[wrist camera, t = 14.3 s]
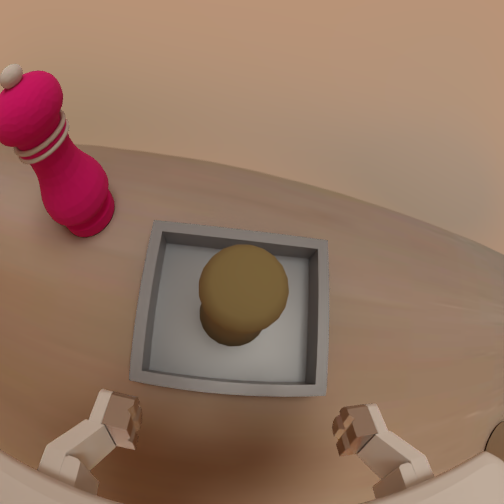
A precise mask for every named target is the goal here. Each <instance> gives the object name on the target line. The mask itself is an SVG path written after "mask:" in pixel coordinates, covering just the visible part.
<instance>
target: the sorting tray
mask: <svg viewBox="0 0 504 504" xmlns="http://www.w3.org/2000/svg"><path fill="white" fill-rule="evenodd" d="M237 244H248V245H253V246H257V247H260V248H263V249H265V250H266V251H268V252H269V253H271V254H272V255H274V256H275V257H276V259H277V260H278V261H279V262H280V263H281V265H282V266H283V268H284V270H285V273H286V275H287V278H288V286H289V295H288V299H287V303H286V307H285V309H284V310H283V312H282V314H281V315H280V317H279V318H278V319H277V320H276V321H275V322H274V323H273V324H271V325H270V326H269V327H268V328H266V329H263V330H262V331H261V332H260V334H259V335H258V336H257V337H256V338H255V339H254V340H252V341H251V342H250V343H247V344H244V345H241V346H226V345H223V344H219V343H217V342H216V341H215V340H213V339H212V338H210V337H209V336H208V334H207V333H206V332H205V330H204V329H203V327H202V324H201V321H200V306H201V301H200V298H199V279H200V276H201V273H202V271H203V268H204V267H205V265H206V264H207V263H208V261H209V260H210V259H211V258H212V256H214V255H215V254H216V253H218V252H219V251H221V250H222V249H224V248H227V247H230V246H233V245H237ZM328 345H329V261H328V240H322V239H315V238H307V237H299V236H291V235H283V234H275V233H267V232H259V231H250V230H242V229H233V228H224V227H215V226H206V225H197V224H187V223H178V222H168V221H158V220H154V222H153V227H152V231H151V235H150V240H149V245H148V249H147V254H146V259H145V264H144V269H143V275H142V280H141V286H140V292H139V298H138V305H137V311H136V318H135V326H134V334H133V342H132V351H131V362H130V373H129V380H130V381H135V382H140V383H145V384H151V385H156V386H162V387H169V388H175V389H182V390H190V391H198V392H207V393H217V394H230V395H245V396H273V397H300V396H326V388H327V370H328Z"/></svg>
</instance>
